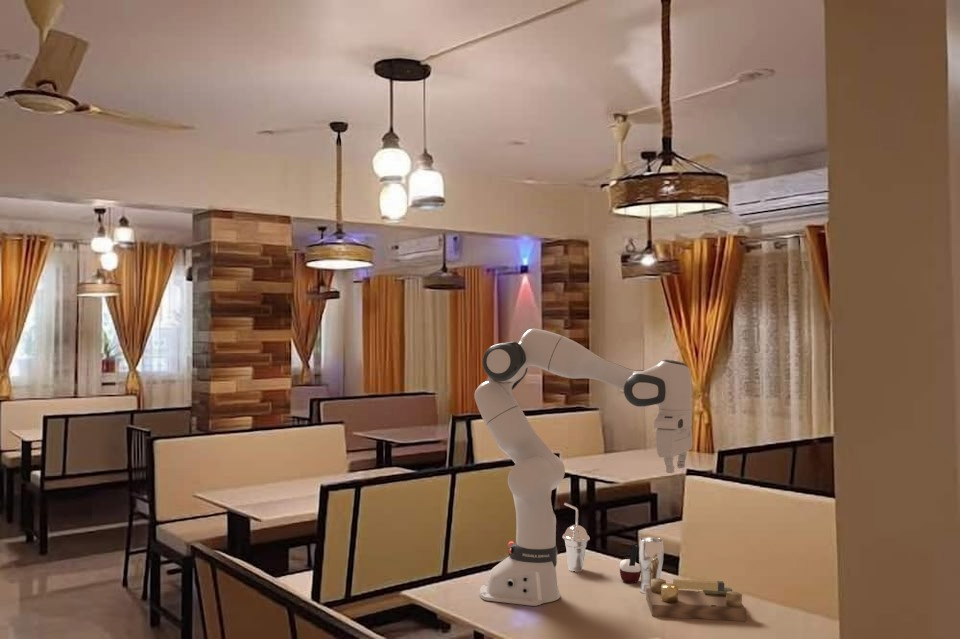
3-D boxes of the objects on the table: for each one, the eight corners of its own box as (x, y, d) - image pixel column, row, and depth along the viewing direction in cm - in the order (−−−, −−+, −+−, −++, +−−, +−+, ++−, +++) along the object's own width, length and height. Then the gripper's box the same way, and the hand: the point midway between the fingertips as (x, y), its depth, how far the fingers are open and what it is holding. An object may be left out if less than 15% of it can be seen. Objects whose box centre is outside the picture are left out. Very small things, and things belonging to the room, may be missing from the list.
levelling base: (652, 616, 215) (652, 593, 215) (646, 599, 229) (646, 577, 229) (745, 621, 213) (746, 597, 213) (734, 603, 227) (734, 581, 227)
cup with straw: (567, 574, 251) (568, 508, 251) (557, 566, 260) (558, 502, 260) (593, 572, 253) (594, 507, 254) (582, 564, 262) (583, 501, 262)
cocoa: (621, 577, 250) (621, 537, 251) (642, 579, 248) (642, 539, 249) (617, 585, 241) (616, 543, 242) (638, 586, 239) (638, 545, 240)
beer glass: (662, 596, 232) (664, 543, 232) (637, 594, 233) (638, 541, 233) (662, 589, 238) (663, 537, 239) (638, 587, 240) (639, 535, 240)
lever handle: (662, 601, 217) (662, 581, 217) (660, 596, 221) (660, 576, 221) (725, 605, 215) (725, 584, 215) (721, 599, 220) (721, 579, 220)
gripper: (676, 415, 235) (676, 464, 234) (651, 422, 217) (652, 474, 217) (697, 416, 231) (698, 465, 231) (675, 423, 214) (675, 476, 214)
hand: (675, 470), depth 224 cm, fingers open, 8 cm apart
